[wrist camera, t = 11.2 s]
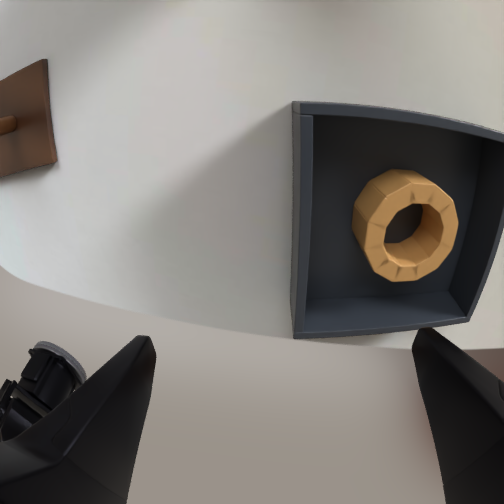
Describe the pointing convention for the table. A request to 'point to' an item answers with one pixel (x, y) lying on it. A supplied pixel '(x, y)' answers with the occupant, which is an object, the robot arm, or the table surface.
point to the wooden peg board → (26, 120)
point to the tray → (400, 227)
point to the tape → (423, 239)
